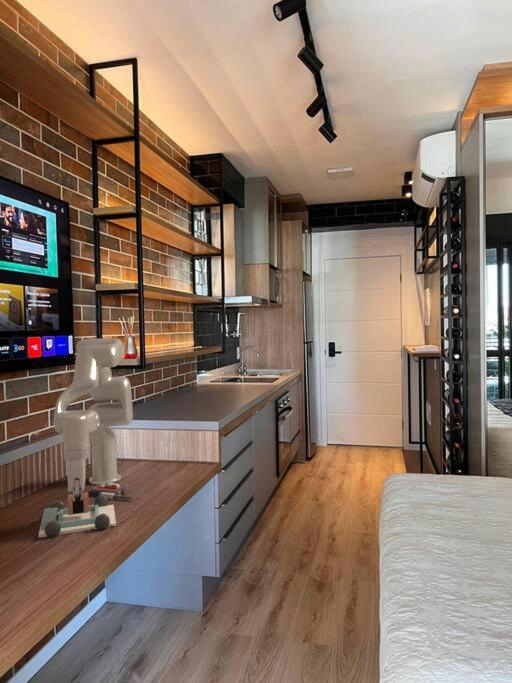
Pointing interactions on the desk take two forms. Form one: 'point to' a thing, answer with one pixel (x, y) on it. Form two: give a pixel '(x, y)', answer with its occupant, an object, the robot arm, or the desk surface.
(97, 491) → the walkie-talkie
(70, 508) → the orange-brown block
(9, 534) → the desk surface
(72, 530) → the chassis
